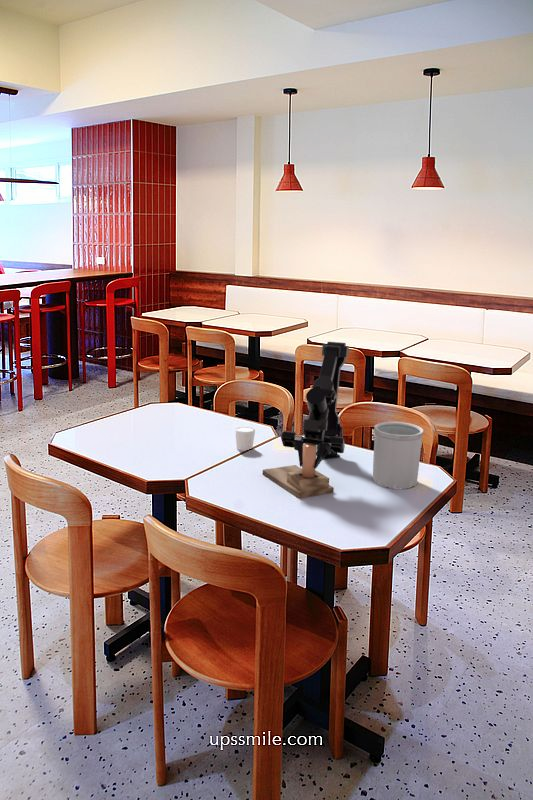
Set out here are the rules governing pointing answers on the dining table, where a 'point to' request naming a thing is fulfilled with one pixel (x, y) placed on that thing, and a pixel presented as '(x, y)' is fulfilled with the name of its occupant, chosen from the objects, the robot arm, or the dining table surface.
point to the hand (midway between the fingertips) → (307, 467)
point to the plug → (308, 461)
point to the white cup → (244, 438)
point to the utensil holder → (396, 454)
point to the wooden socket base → (299, 481)
